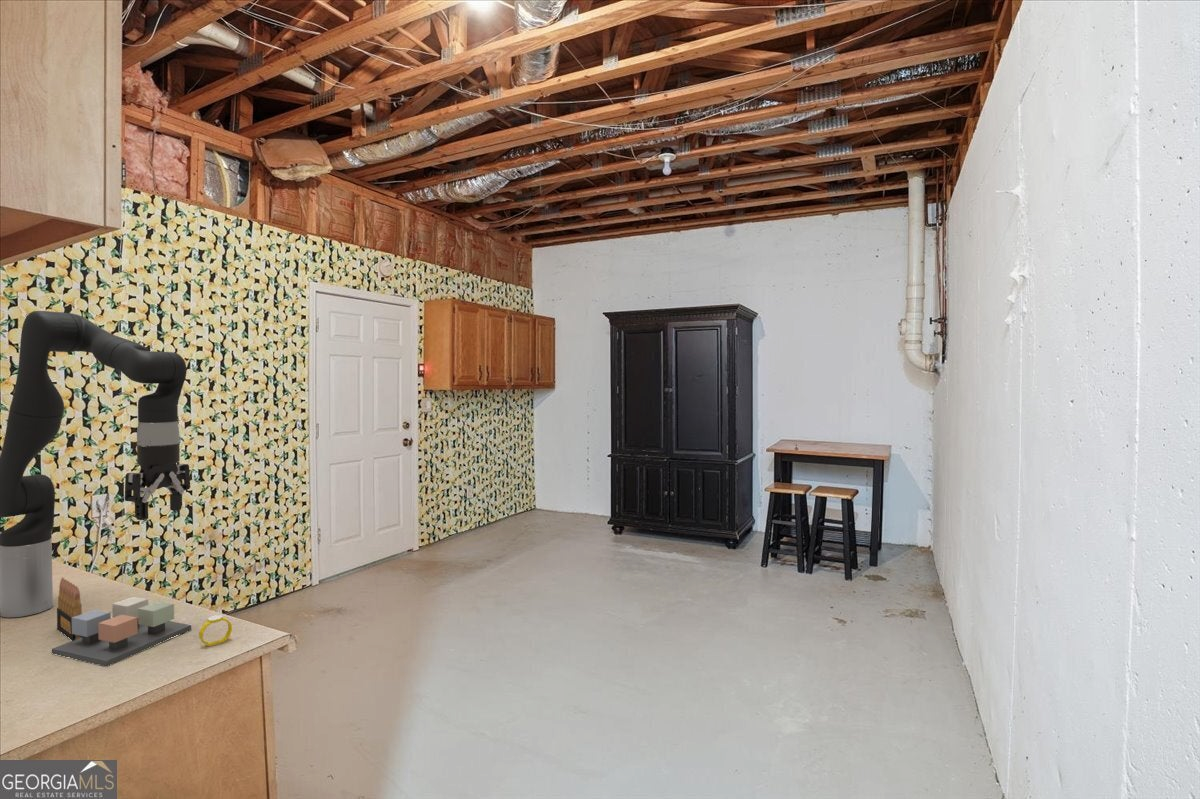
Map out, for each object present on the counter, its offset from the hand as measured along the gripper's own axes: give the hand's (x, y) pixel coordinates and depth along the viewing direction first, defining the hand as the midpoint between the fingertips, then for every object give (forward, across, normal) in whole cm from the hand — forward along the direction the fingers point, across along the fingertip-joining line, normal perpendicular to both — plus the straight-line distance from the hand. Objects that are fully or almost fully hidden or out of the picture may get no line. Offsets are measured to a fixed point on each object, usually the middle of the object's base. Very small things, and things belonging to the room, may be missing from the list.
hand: (159, 514), depth 131 cm
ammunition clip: (+28, +2, -21) cm, 35 cm away
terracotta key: (+24, +7, -3) cm, 26 cm away
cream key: (+24, -2, -10) cm, 26 cm away
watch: (+28, 0, +14) cm, 31 cm away
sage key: (+24, -1, -2) cm, 24 cm away
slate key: (+24, +6, -11) cm, 27 cm away
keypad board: (+28, +3, -6) cm, 29 cm away
